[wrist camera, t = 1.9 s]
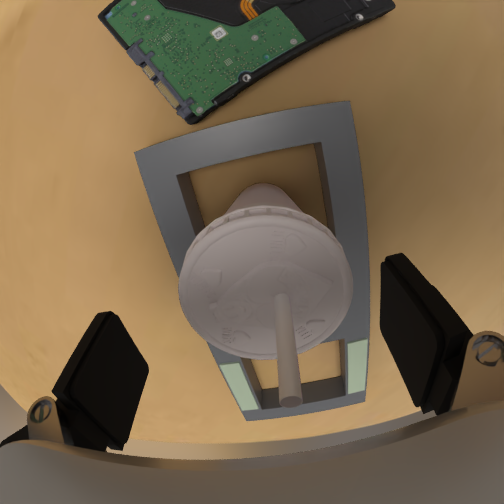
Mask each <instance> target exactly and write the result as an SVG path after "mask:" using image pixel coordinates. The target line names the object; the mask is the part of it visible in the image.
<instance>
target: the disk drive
mask: <svg viewBox="0 0 504 504" xmlns="http://www.w3.org/2000/svg"><path fill="white" fill-rule="evenodd" d="M394 8H395V4H394V2H393V1H392V0H114V1H113V2H112V3H110V4H109V5H108V6H107V7H106V8H105V9H104V10H103V11H102V12H101V13H100V14H99V15H98V18H99V20H100V21H101V22H102V23H103V24H104V26H105V27H106V28H107V29H108V30H109V31H110V33H111V34H112V35H113V36H114V37H115V39H116V40H117V41H118V42H119V43H120V45H121V46H122V47H123V48H124V49H125V50H127V51H126V52H127V54H128V55H129V56H130V58H131V59H132V60H133V61H134V62H135V64H136V65H139V66H140V67H141V68H142V69H143V71H144V73H145V74H146V75H147V76H148V78H149V79H150V80H152V81H153V82H154V85H155V86H156V87H157V88H158V90H159V91H160V92H161V93H162V94H163V96H164V97H165V98H166V99H167V101H168V102H169V103H170V104H171V106H172V107H173V108H175V109H176V110H177V115H180V116H181V117H182V118H183V119H184V120H185V121H186V122H187V123H188V124H190V125H192V124H196V123H198V122H199V121H201V120H202V119H203V118H205V117H206V116H207V115H209V114H210V113H211V112H213V111H214V110H216V109H217V108H218V107H220V106H222V105H224V104H225V103H227V102H228V101H230V100H231V99H233V98H234V97H235V96H237V94H238V93H240V92H241V91H243V90H244V89H246V88H247V87H249V86H250V85H252V84H253V83H255V82H256V81H258V80H259V79H261V78H263V77H265V76H266V75H267V74H269V73H271V72H272V71H274V70H276V69H277V68H279V67H281V66H282V65H284V64H286V63H287V62H289V61H291V60H293V59H294V58H296V57H298V56H300V55H302V54H303V53H305V52H307V51H309V50H311V49H312V48H314V47H316V46H318V45H320V44H322V43H324V42H326V41H328V40H330V39H332V38H334V37H336V36H338V35H340V34H342V33H344V32H346V31H349V30H351V29H355V28H357V27H360V26H362V25H364V24H366V23H369V22H370V21H372V20H374V19H376V18H378V17H381V16H383V15H385V14H387V13H388V12H390V11H391V10H393V9H394Z"/></svg>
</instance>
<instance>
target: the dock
mask: <svg viewBox="0 0 504 504" xmlns="http://www.w3.org/2000/svg"><path fill="white" fill-rule="evenodd" d="M311 143H314V146H315V151H316V156H317V162H318V167H319V173H320V178H321V184H322V190H323V197H324V203H325V209H326V216H327V223H328V229H329V230H330V231H331V232H332V234H333V235H334V236H335V238H336V239H337V240H338V242H339V243H340V244H341V246H342V248H343V251H344V254H345V256H346V259H347V261H348V263H349V266H350V269H351V272H352V277H353V294H352V300H351V304H350V307H349V309H348V312H347V314H346V316H345V318H344V319H343V321H342V322H341V324H340V325H339V326H338V328H337V329H336V330H335V331H334V332H333V333H332V334H331V335H330V336H329V337H328V338H327V339H325V340H324V341H323V342H321V343H325V342H330V341H335V340H339V343H340V363H341V376H340V377H335V378H330V379H325V380H320V381H315V382H310V383H304V384H301V390H302V399H303V402H302V404H301V405H299V406H297V407H294V408H285V407H282V406H281V405H280V403H279V388H272V389H265V390H262V389H261V386H260V383H259V381H258V378H257V376H256V373H255V370H254V368H253V365H252V362H251V359H250V358H243V357H240V356H236V355H233V354H229V353H227V352H225V351H222V350H220V349H218V348H216V347H215V346H213V345H212V344H210V343H209V342H207V344H208V346H209V348H210V350H211V352H212V354H213V356H214V358H215V360H216V363H217V365H218V367H219V369H220V371H221V373H222V375H223V377H224V379H225V381H226V383H227V385H228V387H229V389H230V391H231V393H232V395H233V397H234V398H235V400H236V402H237V404H238V406H239V408H240V410H241V412H242V414H243V415H244V417H245V419H246V421H255V420H265V419H273V418H281V417H289V416H296V415H302V414H308V413H314V412H319V411H325V410H330V409H335V408H339V407H344V406H348V405H353V404H357V403H361V402H365V396H366V386H367V373H368V358H369V335H370V270H369V247H368V231H367V218H366V207H365V196H364V187H363V179H362V171H361V164H360V157H359V150H358V143H357V137H356V131H355V126H354V120H353V115H352V110H351V105H350V101H343V102H334V103H327V104H319V105H313V106H306V107H300V108H295V109H289V110H284V111H278V112H273V113H268V114H264V115H259V116H254V117H250V118H246V119H241V120H237V121H233V122H229V123H225V124H221V125H218V126H214V127H210V128H207V129H203V130H200V131H196V132H193V133H189V134H186V135H183V136H180V137H177V138H173V139H170V140H167V141H164V142H161V143H158V144H155V145H152V146H150V147H147V148H144V149H141V150H139V151H136V152H134V154H135V157H136V161H137V164H138V167H139V170H140V173H141V176H142V179H143V182H144V185H145V188H146V191H147V194H148V197H149V200H150V203H151V206H152V209H153V212H154V214H155V217H156V220H157V223H158V225H159V228H160V231H161V234H162V236H163V239H164V242H165V244H166V247H167V249H168V252H169V255H170V257H171V260H172V262H173V265H174V267H175V270H176V272H177V275H178V277H180V272H181V269H182V266H183V263H184V259H185V256H186V252H187V250H188V249H189V247H190V246H191V244H192V242H193V241H194V239H195V238H196V236H197V235H198V234H199V233H200V232H201V231H202V230H203V229H204V228H205V226H204V222H203V219H202V216H201V213H200V210H199V206H198V203H197V200H196V197H195V194H194V190H193V187H192V184H191V180H190V177H189V174H188V172H189V171H192V170H196V169H199V168H203V167H207V166H211V165H214V164H218V163H222V162H226V161H230V160H234V159H239V158H243V157H247V156H252V155H256V154H261V153H265V152H270V151H275V150H279V149H284V148H290V147H295V146H300V145H306V144H311Z"/></svg>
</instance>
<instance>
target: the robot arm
mask: <svg viewBox="0 0 504 504" xmlns="http://www.w3.org/2000/svg"><path fill="white" fill-rule="evenodd" d="M380 330H381V333H382V335H383V337H384V339H385V341H386V343H387V345H388V348H389V350H390V352H391V354H392V356H393V358H394V360H395V362H396V365H397V367H398V369H399V371H400V373H401V376H402V378H403V380H404V382H405V384H406V387H407V389H408V391H409V394H410V396H411V398H412V401H413V403H414V405H415V406H416V407H419V406H420V407H421V410H422V412H423V414H425V413H427V412H430V411H432V410H434V411H435V413H436V415H438V416H435V417H432V418H429V419H426V420H423V421H420V422H417V423H414V424H411V425H409V426H406V427H403V428H399V429H396V430H394V431H390V432H387V433H384V434H380V435H376V436H373V437H369V438H365V439H361V440H357V441H353V442H349V443H345V444H341V445H336V446H331V447H326V448H321V449H316V450H311V451H305V452H298V453H292V454H284V455H276V456H267V457H257V458H244V459H227V460H226V459H224V460H181V459H162V458H149V457H137V456H129V455H122V454H114V453H108V452H107V451H106V448H107V446H108V447H109V448H110V449H114V450H121V451H122V450H123V447H124V444H125V443H126V442H127V441H128V438H129V435H130V431H131V428H132V424H133V421H134V418H135V414H136V411H137V408H138V404H139V401H140V398H141V395H142V392H143V389H144V385H145V382H146V379H147V376H148V373H149V367H148V364H147V362H146V361H145V359H144V358H143V356H142V355H141V353H140V351H139V350H138V348H137V347H136V345H135V343H134V342H133V340H132V338H131V337H130V335H129V333H128V332H127V330H126V328H125V327H124V325H123V323H122V321H121V320H120V318H119V316H118V315H116V314H114V313H113V312H112V311H108V312H101V313H98V314H97V315H96V316H95V318H94V319H93V321H92V322H91V324H90V326H89V327H88V329H87V330H86V332H85V334H84V335H83V337H82V339H81V340H80V342H79V343H78V345H77V347H76V349H75V350H74V352H73V354H72V355H71V357H70V359H69V361H68V362H67V364H66V366H65V368H64V369H63V371H62V373H61V375H60V377H59V378H58V380H57V382H56V384H55V386H54V388H53V390H52V391H51V392H52V393H53V394H54V395H55V396H56V397H57V400H56V401H55V400H54V399H53V398H51V397H49V396H45V397H41V398H39V399H38V400H36V401H35V402H34V403H33V404H32V405H31V407H30V409H29V411H28V414H27V424H28V425H26V426H25V427H23V428H22V429H20V430H19V431H17V432H15V433H14V434H12V435H11V436H9V437H8V438H6V439H5V440H3V441H2V442H1V444H0V504H504V336H502V335H501V334H499V333H496V332H493V331H483V332H479V333H477V334H475V335H473V334H472V332H471V331H470V330H469V328H468V327H467V326H466V324H465V323H464V322H463V321H462V319H461V318H460V317H459V315H458V314H457V313H456V312H455V310H454V309H453V308H452V307H451V305H450V304H449V303H448V302H447V301H446V299H445V298H444V297H443V296H442V295H441V293H440V292H439V291H438V290H437V289H436V288H435V287H434V286H433V285H431V284H430V283H429V282H428V281H427V279H426V278H425V277H424V276H423V275H422V274H421V273H420V271H419V270H418V269H417V268H416V267H415V266H414V265H413V264H412V263H411V261H410V260H409V259H408V258H407V257H406V256H405V255H404V254H403V253H398V254H394V255H390V256H387V257H386V258H385V261H384V262H382V263H381V300H380Z"/></svg>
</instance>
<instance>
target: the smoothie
mask: <svg viewBox="0 0 504 504" xmlns="http://www.w3.org/2000/svg"><path fill="white" fill-rule="evenodd" d="M178 293H179V300H180V304H181V307H182V310H183V313H184V315H185V317H186V318H187V320H188V322H189V323H190V325H191V326H192V327H193V329H194V330H195V331H196V332H197V333H198V334H199V335H200V336H201V337H202V338H203V339H205V340H206V341H207V342H209V343H210V344H212V345H213V346H215V347H216V348H218V349H220V350H222V351H225V352H227V353H229V354H233V355H236V356H240V357H243V358H250V359H257V360H272V359H277V364H278V383H279V403H280V405H281V406H282V407H285V408H294V407H297V406H299V405H301V404H302V402H303V399H302V390H301V381H300V373H299V365H298V357H297V354H300V353H303V352H305V351H307V350H309V349H311V348H313V347H315V346H316V345H318V344H320V343H321V342H323V341H324V340H325V339H327V338H328V337H329V336H330V335H331V334H332V333H333V332H334V331H335V330H336V329H337V328H338V326H339V325H340V324H341V322H342V321H343V319H344V318H345V316H346V314H347V312H348V309H349V307H350V304H351V300H352V294H353V277H352V272H351V269H350V266H349V263H348V261H347V259H346V256H345V254H344V251H343V248H342V246H341V244H340V243H339V242H338V240H337V239H336V238H335V236H334V235H333V234H332V232H331V231H330V230H329V229H328V228H327V227H326V226H324V225H323V224H322V223H320V222H319V221H317V220H316V219H315V218H313V217H312V216H310V215H308V214H305V213H303V212H302V211H301V209H300V208H299V207H298V206H297V205H296V204H295V203H294V202H293V201H292V200H291V198H290V197H289V196H288V195H287V194H286V193H285V192H284V191H283V190H282V189H281V188H279V187H277V186H275V185H273V184H269V183H258V184H254V185H251V186H249V187H248V188H246V189H245V190H244V191H242V193H241V194H240V195H239V196H238V197H237V199H236V200H235V201H234V203H233V204H232V205H231V206H230V208H229V209H228V210H227V211H226V213H225V214H224V215H223V216H221V217H219V218H217V219H215V220H214V221H213V222H211V223H210V224H209V225H208V226H207V227H206V228H204V229H203V230H202V231H201V232H200V233H199V234H198V235H197V236H196V238H195V239H194V241H193V242H192V244H191V246H190V247H189V249H188V250H187V252H186V256H185V259H184V263H183V266H182V269H181V272H180V277H179V284H178Z"/></svg>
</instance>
